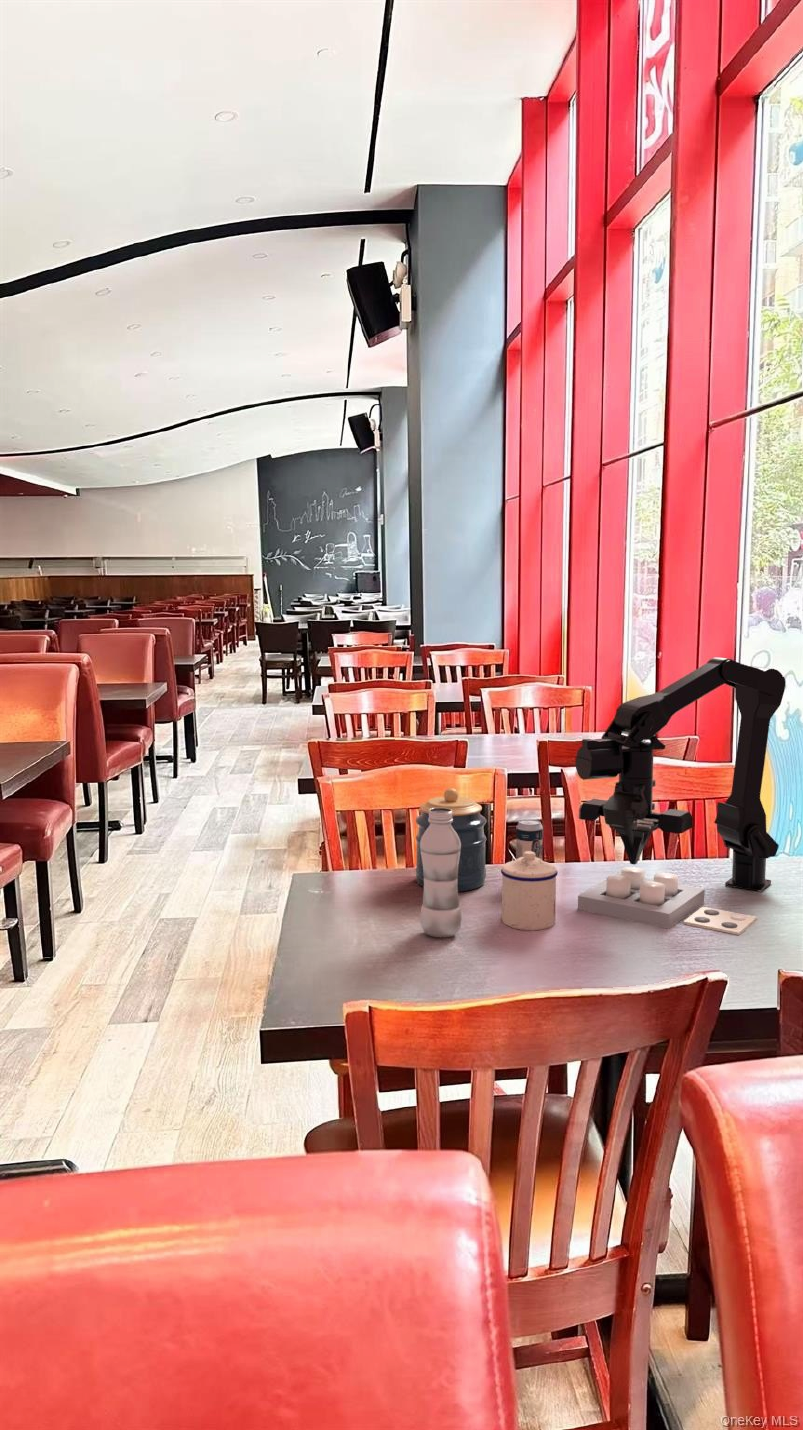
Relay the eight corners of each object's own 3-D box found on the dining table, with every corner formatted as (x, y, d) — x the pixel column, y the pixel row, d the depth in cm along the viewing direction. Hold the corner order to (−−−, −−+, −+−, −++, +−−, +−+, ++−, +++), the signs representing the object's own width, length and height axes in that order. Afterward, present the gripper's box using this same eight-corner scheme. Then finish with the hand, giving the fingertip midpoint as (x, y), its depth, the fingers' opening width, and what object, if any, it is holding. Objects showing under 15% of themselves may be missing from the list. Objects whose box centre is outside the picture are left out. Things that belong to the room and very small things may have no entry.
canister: (401, 883, 183) (400, 789, 181) (446, 868, 193) (446, 778, 190) (455, 898, 174) (455, 799, 172) (500, 881, 184) (501, 787, 181)
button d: (645, 898, 168) (645, 880, 167) (667, 902, 165) (668, 884, 165) (635, 904, 165) (636, 885, 164) (658, 909, 162) (659, 890, 162)
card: (702, 909, 168) (702, 905, 168) (756, 919, 162) (757, 916, 162) (683, 923, 160) (683, 920, 160) (739, 935, 155) (739, 931, 155)
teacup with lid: (567, 926, 159) (569, 856, 158) (518, 935, 156) (519, 862, 154) (528, 904, 170) (529, 838, 169) (481, 912, 167) (482, 844, 165)
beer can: (541, 891, 178) (542, 825, 176) (514, 889, 179) (515, 824, 177) (542, 883, 182) (543, 819, 181) (516, 882, 183) (517, 818, 182)
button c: (612, 892, 171) (612, 874, 171) (633, 896, 169) (634, 878, 169) (602, 898, 168) (602, 879, 168) (624, 902, 166) (624, 883, 165)
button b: (658, 889, 173) (659, 871, 172) (681, 893, 170) (681, 875, 170) (649, 895, 169) (650, 877, 169) (672, 899, 167) (672, 881, 167)
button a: (626, 883, 176) (626, 865, 176) (647, 887, 174) (648, 869, 173) (616, 889, 173) (617, 871, 172) (638, 893, 171) (639, 875, 170)
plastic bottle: (433, 945, 152) (433, 817, 149) (412, 931, 158) (412, 808, 155) (469, 938, 155) (470, 812, 152) (447, 925, 160) (447, 803, 158)
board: (617, 886, 180) (617, 873, 180) (704, 902, 171) (704, 889, 171) (577, 909, 168) (577, 895, 167) (669, 928, 158) (669, 914, 158)
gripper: (565, 777, 170) (563, 866, 172) (670, 790, 159) (667, 884, 161) (593, 767, 179) (592, 851, 181) (695, 778, 168) (692, 868, 170)
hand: (633, 864), depth 173 cm, fingers closed
